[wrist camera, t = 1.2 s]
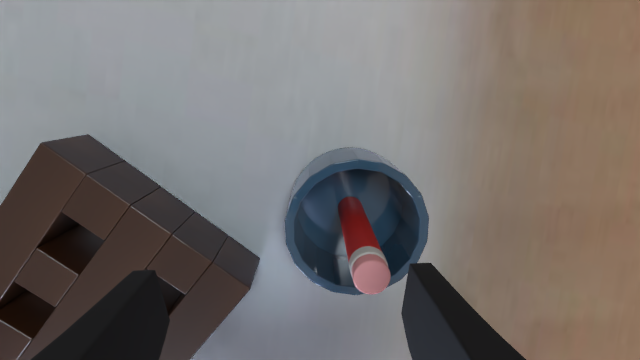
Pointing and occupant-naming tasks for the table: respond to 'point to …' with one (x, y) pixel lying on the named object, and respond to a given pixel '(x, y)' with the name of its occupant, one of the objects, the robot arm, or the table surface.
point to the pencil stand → (107, 250)
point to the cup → (378, 203)
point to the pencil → (362, 248)
